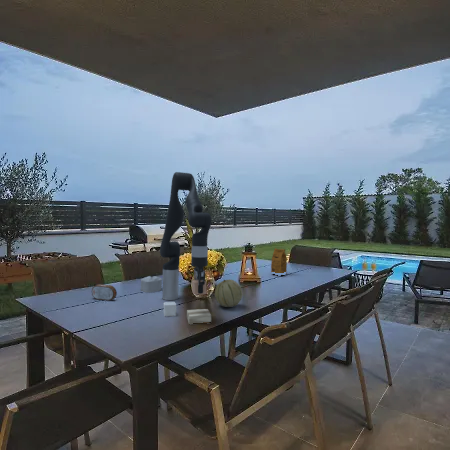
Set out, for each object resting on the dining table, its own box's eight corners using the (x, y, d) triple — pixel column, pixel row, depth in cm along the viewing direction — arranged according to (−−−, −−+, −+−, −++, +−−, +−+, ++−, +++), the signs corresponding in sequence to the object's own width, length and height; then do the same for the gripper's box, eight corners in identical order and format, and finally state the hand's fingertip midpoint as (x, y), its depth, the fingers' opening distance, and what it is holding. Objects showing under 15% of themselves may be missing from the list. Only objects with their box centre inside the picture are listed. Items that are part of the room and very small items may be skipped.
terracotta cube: (192, 291, 153) (192, 280, 152) (203, 291, 154) (203, 279, 154) (194, 294, 147) (194, 282, 147) (206, 293, 149) (206, 282, 149)
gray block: (186, 318, 155) (186, 309, 155) (207, 317, 157) (207, 308, 157) (189, 325, 145) (189, 316, 145) (211, 324, 147) (211, 315, 147)
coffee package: (277, 273, 276) (278, 247, 275) (288, 275, 266) (288, 249, 265) (268, 274, 270) (269, 248, 269) (279, 277, 260) (280, 249, 259)
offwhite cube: (163, 313, 161) (163, 302, 161) (174, 312, 163) (174, 301, 162) (164, 316, 156) (164, 305, 156) (176, 315, 157) (176, 304, 157)
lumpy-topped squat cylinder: (139, 290, 208) (139, 276, 208) (156, 287, 217) (157, 274, 216) (146, 293, 200) (146, 279, 200) (165, 290, 209) (165, 277, 209)
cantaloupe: (247, 306, 175) (248, 279, 174) (229, 312, 164) (230, 283, 163) (227, 301, 184) (227, 275, 184) (208, 306, 173) (209, 278, 173)
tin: (116, 300, 184) (117, 285, 184) (113, 301, 181) (113, 286, 181) (94, 297, 188) (94, 283, 188) (90, 299, 185) (90, 284, 185)
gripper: (211, 257, 144) (210, 295, 145) (204, 253, 158) (203, 288, 159) (194, 257, 142) (194, 296, 143) (188, 253, 156) (188, 288, 157)
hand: (199, 291), depth 151 cm, fingers closed on terracotta cube, 5 cm apart
